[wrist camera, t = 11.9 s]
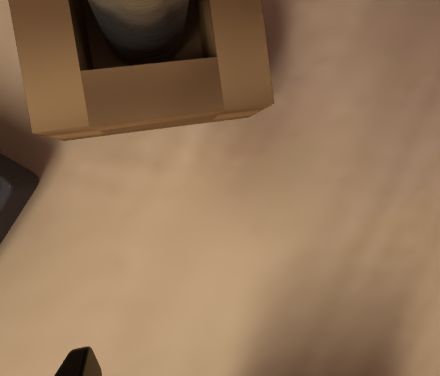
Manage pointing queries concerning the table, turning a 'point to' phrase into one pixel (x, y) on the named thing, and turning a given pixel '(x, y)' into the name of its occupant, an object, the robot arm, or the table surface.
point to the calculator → (13, 192)
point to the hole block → (139, 70)
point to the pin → (142, 28)
